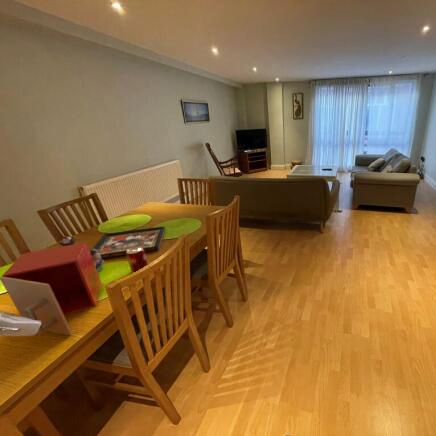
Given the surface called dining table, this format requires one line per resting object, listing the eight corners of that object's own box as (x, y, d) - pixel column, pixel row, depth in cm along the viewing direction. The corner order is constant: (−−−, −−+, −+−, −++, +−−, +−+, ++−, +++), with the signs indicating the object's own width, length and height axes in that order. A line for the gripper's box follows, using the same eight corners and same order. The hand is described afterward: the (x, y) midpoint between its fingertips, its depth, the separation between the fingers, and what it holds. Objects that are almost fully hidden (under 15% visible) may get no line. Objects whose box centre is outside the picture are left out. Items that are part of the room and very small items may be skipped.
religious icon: (165, 226, 167) (164, 223, 166) (165, 249, 138) (164, 245, 137) (98, 238, 151) (97, 234, 150) (83, 266, 122) (81, 261, 121)
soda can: (134, 277, 113) (128, 255, 109) (130, 271, 118) (123, 250, 113) (151, 270, 118) (145, 249, 114) (146, 265, 123) (140, 244, 118)
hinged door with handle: (53, 349, 78) (25, 296, 70) (8, 338, 81) (-24, 288, 73) (72, 333, 83) (49, 283, 75) (29, 325, 87) (2, 276, 79)
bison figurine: (96, 277, 114) (89, 259, 110) (79, 279, 112) (71, 261, 108) (108, 263, 124) (102, 246, 120) (92, 265, 123) (85, 248, 119)
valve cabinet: (95, 306, 96) (77, 260, 88) (29, 324, 87) (1, 275, 79) (102, 283, 109) (86, 242, 101) (44, 298, 100) (22, 253, 92)
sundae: (64, 258, 129) (53, 233, 123) (79, 253, 134) (70, 229, 128) (68, 262, 125) (57, 237, 120) (83, 257, 131) (74, 232, 125)
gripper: (7, 317, 61) (64, 317, 74) (-42, 302, 66) (18, 305, 79) (-8, 344, 59) (53, 340, 72) (-58, 327, 64) (7, 325, 77)
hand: (35, 321), depth 75 cm, fingers closed on hinged door with handle, 2 cm apart
